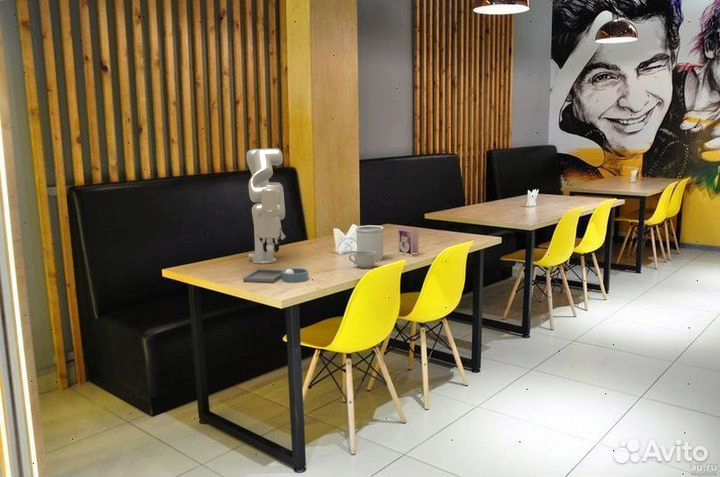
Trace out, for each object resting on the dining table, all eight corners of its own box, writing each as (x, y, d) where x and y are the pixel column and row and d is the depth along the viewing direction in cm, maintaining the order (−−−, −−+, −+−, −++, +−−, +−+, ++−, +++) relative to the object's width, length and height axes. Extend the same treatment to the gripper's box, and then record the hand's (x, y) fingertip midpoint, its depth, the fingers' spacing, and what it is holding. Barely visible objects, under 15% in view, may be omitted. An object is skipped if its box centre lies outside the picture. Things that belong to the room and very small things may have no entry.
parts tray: (243, 281, 300) (243, 277, 299) (257, 273, 317) (257, 269, 316) (273, 283, 296) (273, 279, 296) (286, 274, 314) (285, 270, 313)
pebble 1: (264, 253, 306) (264, 243, 305) (268, 251, 310) (268, 241, 309) (274, 253, 304) (273, 243, 304) (277, 251, 309) (277, 241, 308)
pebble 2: (288, 282, 299) (280, 275, 300) (291, 280, 304) (284, 273, 304) (294, 274, 298) (286, 268, 298) (297, 272, 303) (290, 266, 303)
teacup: (375, 264, 333) (375, 249, 332) (376, 269, 323) (376, 253, 321) (348, 265, 333) (348, 250, 331) (349, 269, 322) (348, 254, 321)
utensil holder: (381, 262, 338) (381, 229, 335) (353, 261, 341) (353, 229, 338) (385, 256, 353) (385, 225, 350) (359, 256, 356) (359, 225, 352)
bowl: (278, 281, 299) (278, 273, 298) (287, 275, 311) (286, 267, 310) (303, 282, 296) (303, 274, 296) (311, 276, 308) (310, 268, 307)
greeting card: (397, 253, 360) (397, 227, 358) (407, 252, 365) (407, 226, 362) (411, 257, 352) (411, 230, 349) (420, 255, 356) (421, 228, 354)
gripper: (250, 214, 303) (251, 252, 306) (284, 215, 299) (285, 253, 302) (256, 212, 310) (257, 249, 313) (289, 213, 306) (290, 250, 309)
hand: (271, 251), depth 307 cm, fingers closed on pebble 1, 4 cm apart
